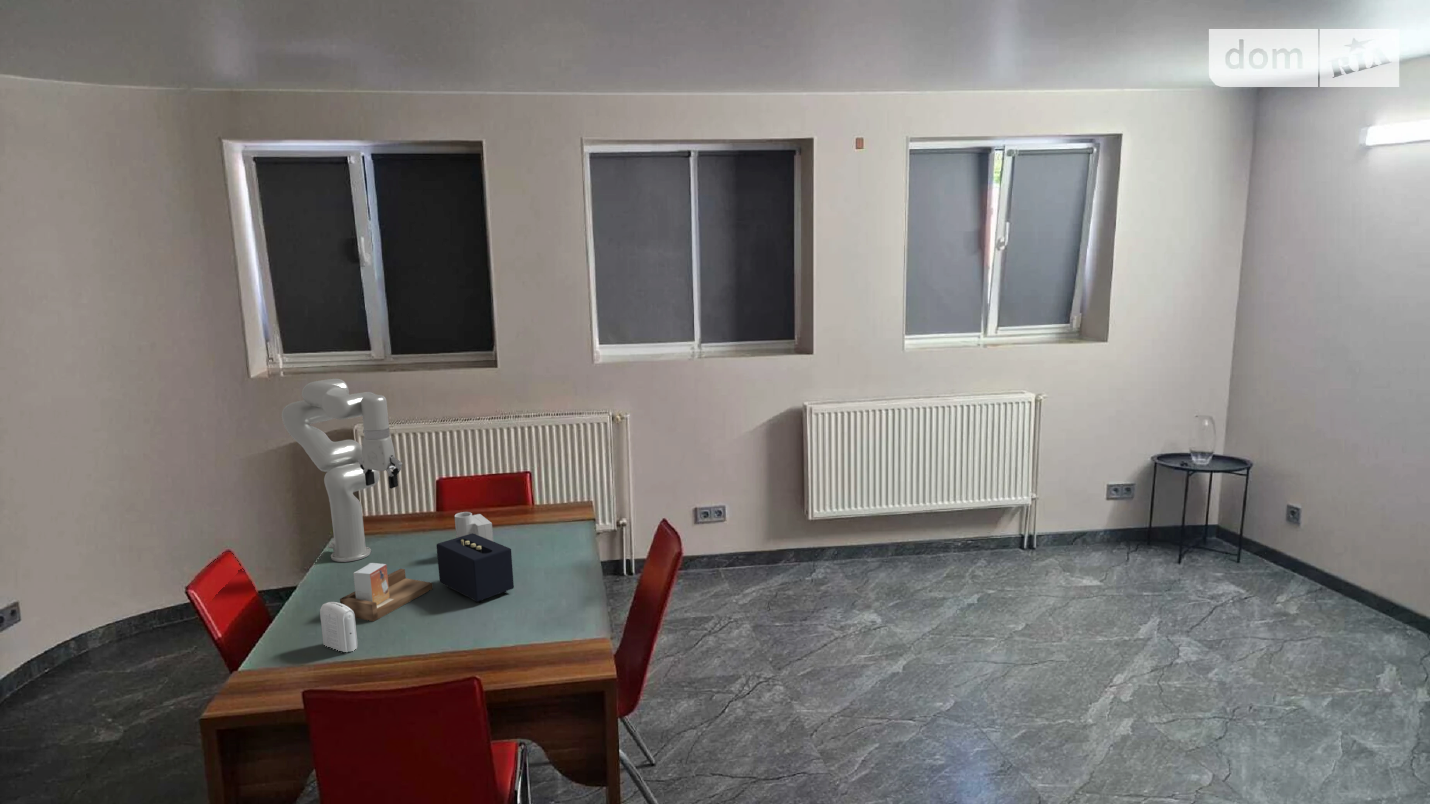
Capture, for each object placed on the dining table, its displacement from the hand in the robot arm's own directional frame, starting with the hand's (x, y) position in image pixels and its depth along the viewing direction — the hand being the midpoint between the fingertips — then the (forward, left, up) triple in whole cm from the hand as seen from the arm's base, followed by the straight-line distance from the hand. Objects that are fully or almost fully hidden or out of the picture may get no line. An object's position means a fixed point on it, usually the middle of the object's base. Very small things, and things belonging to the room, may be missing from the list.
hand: (382, 486), depth 266 cm
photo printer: (+28, -47, -29) cm, 62 cm away
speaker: (+38, -4, -29) cm, 48 cm away
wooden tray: (+19, -20, -28) cm, 39 cm away
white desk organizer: (+17, +18, -29) cm, 38 cm away
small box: (+18, -25, -26) cm, 41 cm away
